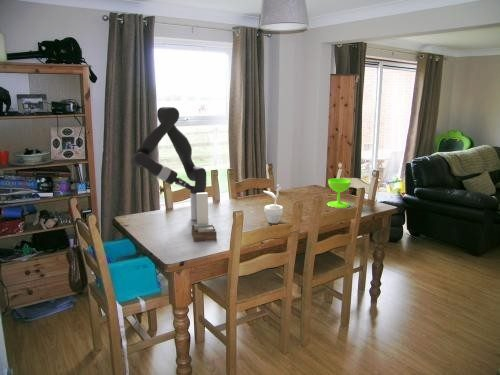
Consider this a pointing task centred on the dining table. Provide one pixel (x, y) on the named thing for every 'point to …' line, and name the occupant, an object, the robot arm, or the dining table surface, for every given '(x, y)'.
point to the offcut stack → (204, 227)
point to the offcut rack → (203, 235)
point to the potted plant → (273, 208)
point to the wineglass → (339, 186)
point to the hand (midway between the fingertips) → (191, 188)
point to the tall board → (202, 208)
